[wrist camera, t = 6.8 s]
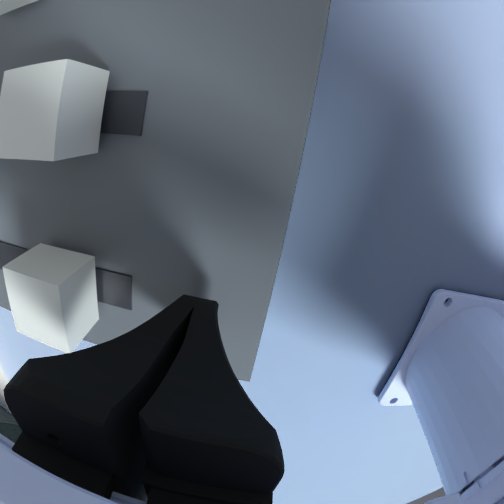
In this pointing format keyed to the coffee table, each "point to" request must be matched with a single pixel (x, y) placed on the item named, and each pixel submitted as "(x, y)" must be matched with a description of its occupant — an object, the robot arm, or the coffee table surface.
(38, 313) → the switch tab
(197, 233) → the switch board
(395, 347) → the coffee table surface
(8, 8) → the switch tab
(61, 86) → the white cube
